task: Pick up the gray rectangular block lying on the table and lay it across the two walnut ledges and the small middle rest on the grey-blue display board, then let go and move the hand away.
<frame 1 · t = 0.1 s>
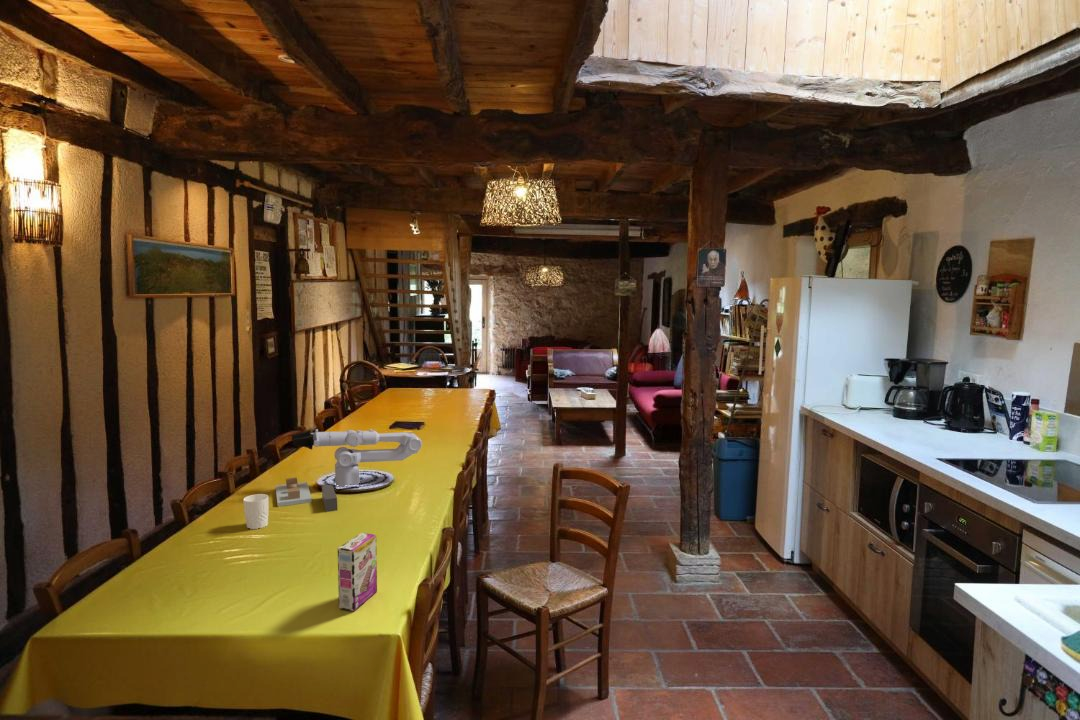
hand: (292, 439, 246), 22 cm above the table, tool horizontal, fingers open, 7 cm apart
candy bar box: (359, 601, 165), on the table
display stand: (293, 495, 246), on the table
white cup: (257, 526, 215), on the table
gray rectangular block: (329, 504, 237), on the table
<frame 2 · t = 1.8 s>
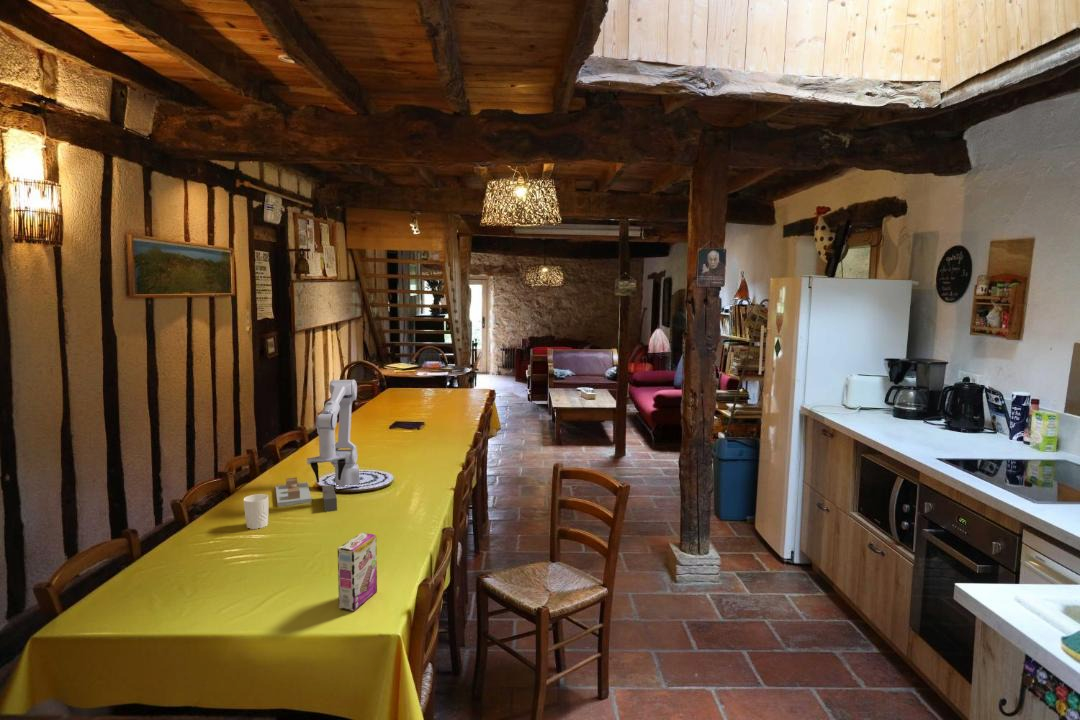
hand: (328, 480, 235), 9 cm above the table, tool pointing down, fingers open, 7 cm apart
nothing on the table moved.
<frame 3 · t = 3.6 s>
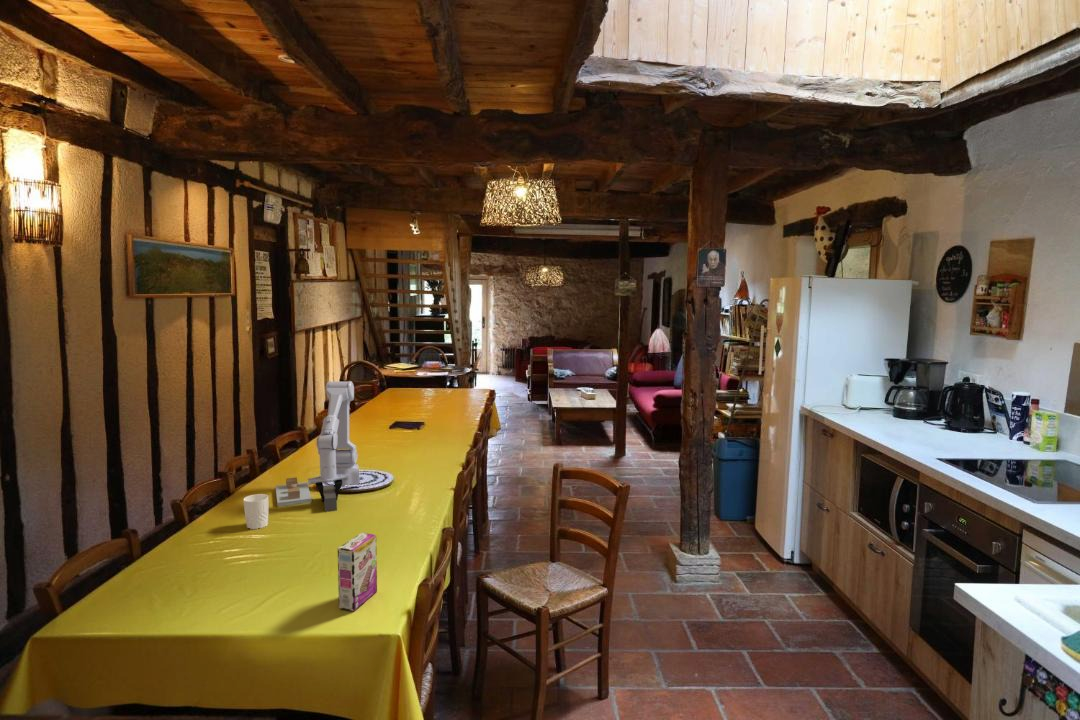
hand: (329, 500, 236), 1 cm above the table, tool pointing down, fingers closed on gray rectangular block, 4 cm apart
gray rectangular block: (329, 504, 236), on the table, touching gripper
everything else where it was.
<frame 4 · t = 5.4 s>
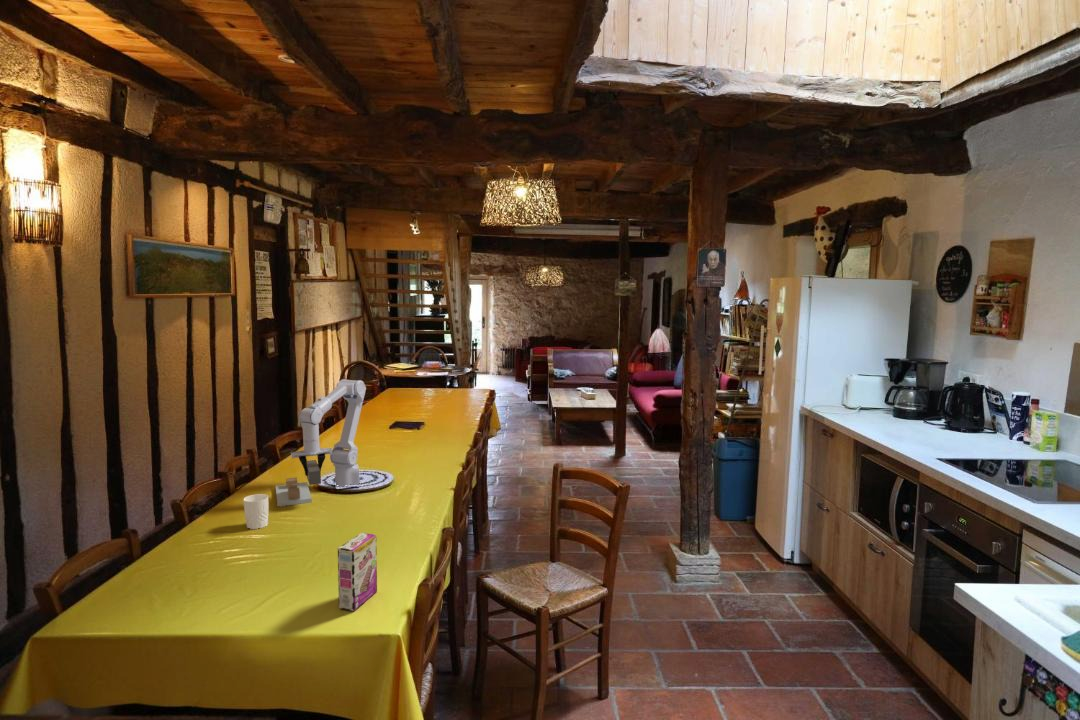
hand: (312, 474, 239), 10 cm above the table, tool pointing down, fingers closed on gray rectangular block, 4 cm apart
gray rectangular block: (313, 478, 239), point 9 cm above the table, touching gripper
everything else where it was.
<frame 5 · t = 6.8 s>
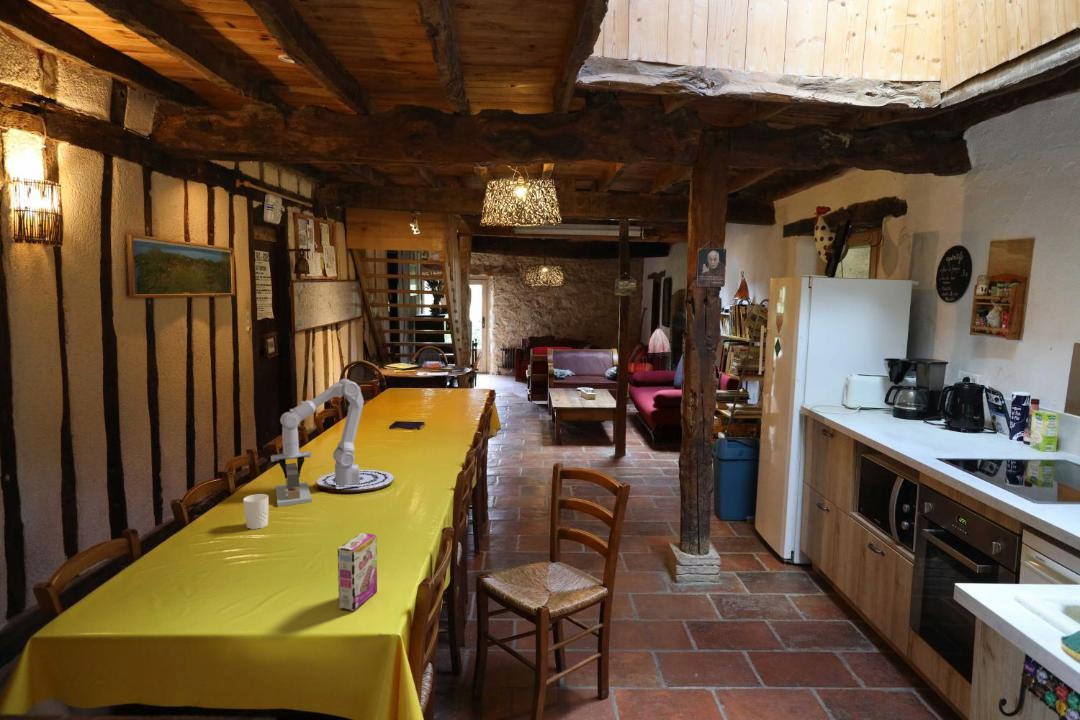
hand: (292, 476, 245), 8 cm above the table, tool pointing down, fingers closed on gray rectangular block, 4 cm apart
gray rectangular block: (292, 481, 245), point 6 cm above the table, touching gripper
everything else where it was.
when the fingers open (7 cm above the table, at t = 7.6 s): gray rectangular block drops 1 cm, resting on display stand.
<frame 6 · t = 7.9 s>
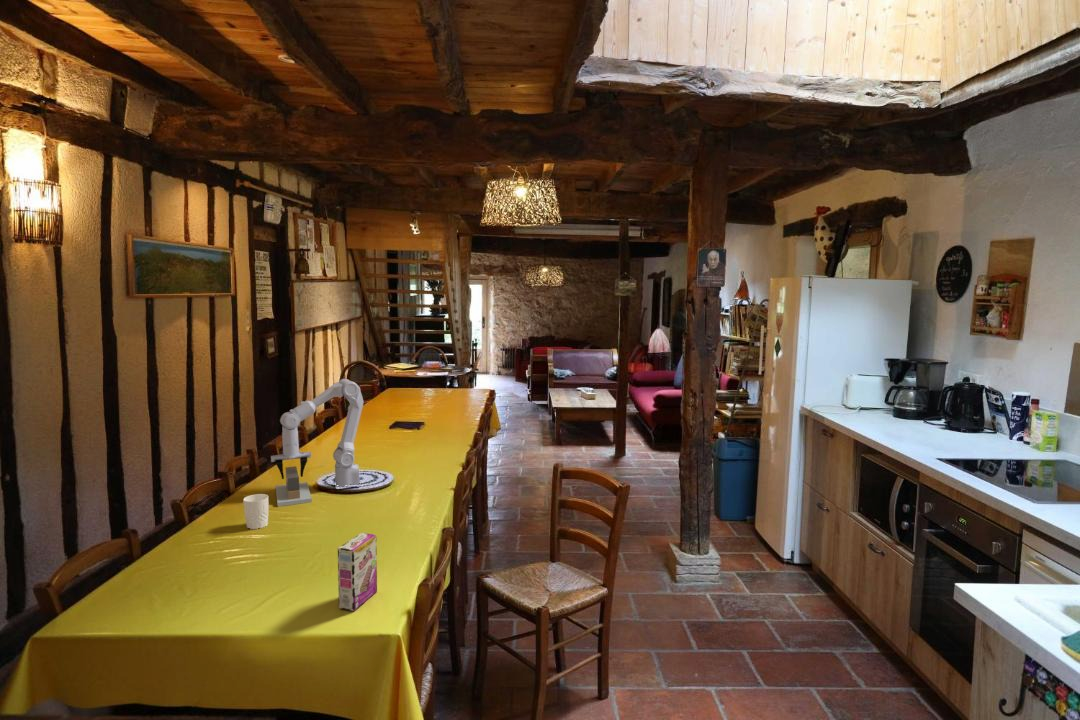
hand: (292, 477, 245), 7 cm above the table, tool pointing down, fingers open, 6 cm apart
gray rectangular block: (292, 484, 245), point 4 cm above the table, touching display stand
everything else where it was.
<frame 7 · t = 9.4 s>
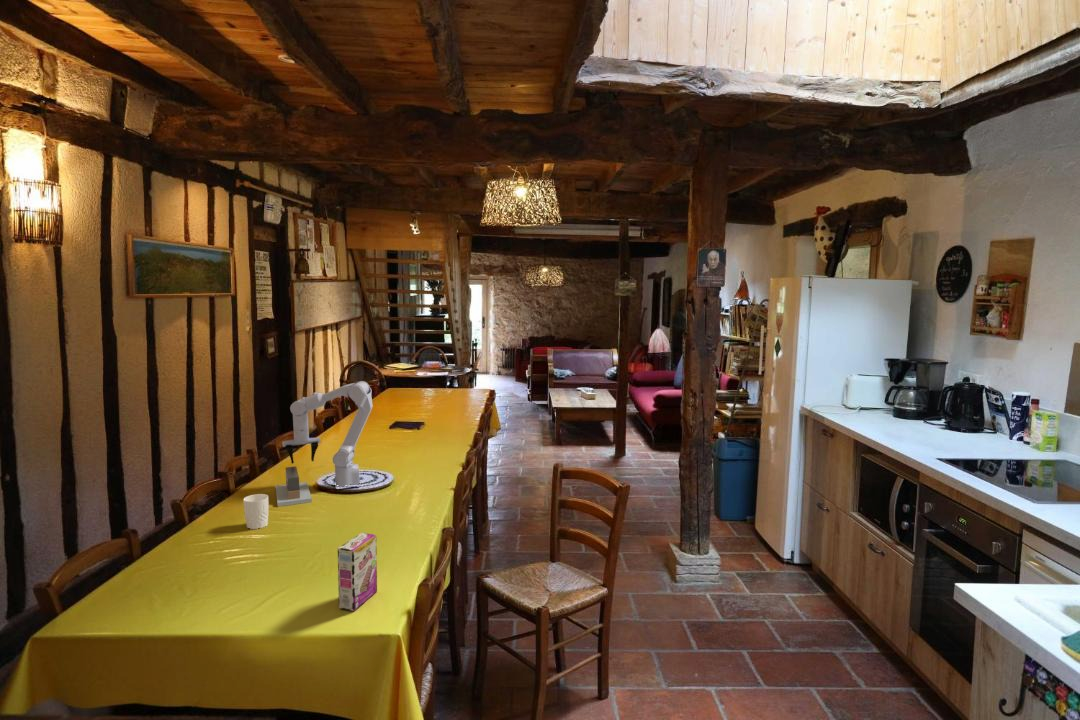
hand: (302, 461, 256), 10 cm above the table, tool pointing down, fingers open, 7 cm apart
nothing on the table moved.
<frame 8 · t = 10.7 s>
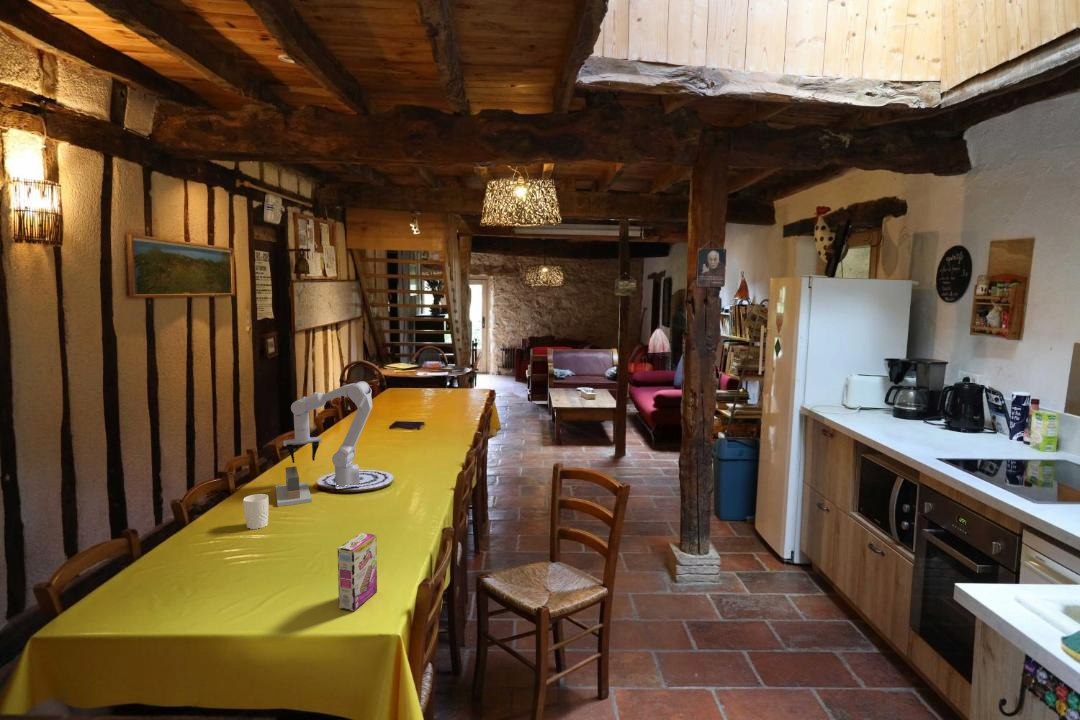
hand: (303, 461, 257), 10 cm above the table, tool pointing down, fingers open, 7 cm apart
nothing on the table moved.
at the end: gray rectangular block 0.2 cm off-centre on the display stand, point 4.5 cm above the display stand's base; gray rectangular block tilted 0°; the gripper is holding nothing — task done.
